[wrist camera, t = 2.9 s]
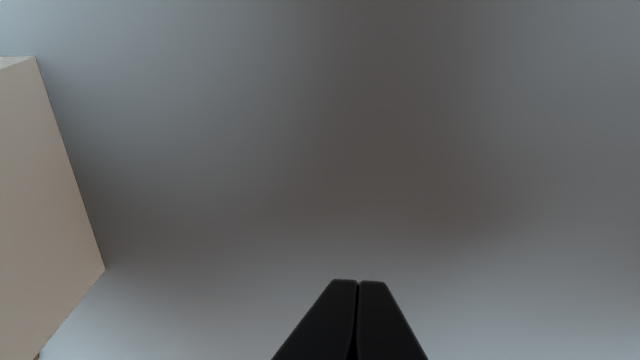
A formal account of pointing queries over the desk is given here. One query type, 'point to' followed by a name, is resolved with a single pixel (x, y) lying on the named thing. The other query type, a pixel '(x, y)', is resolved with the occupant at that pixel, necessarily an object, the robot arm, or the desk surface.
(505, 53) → the desk surface
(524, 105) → the desk surface
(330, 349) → the robot arm
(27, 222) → the cream rectangular block
